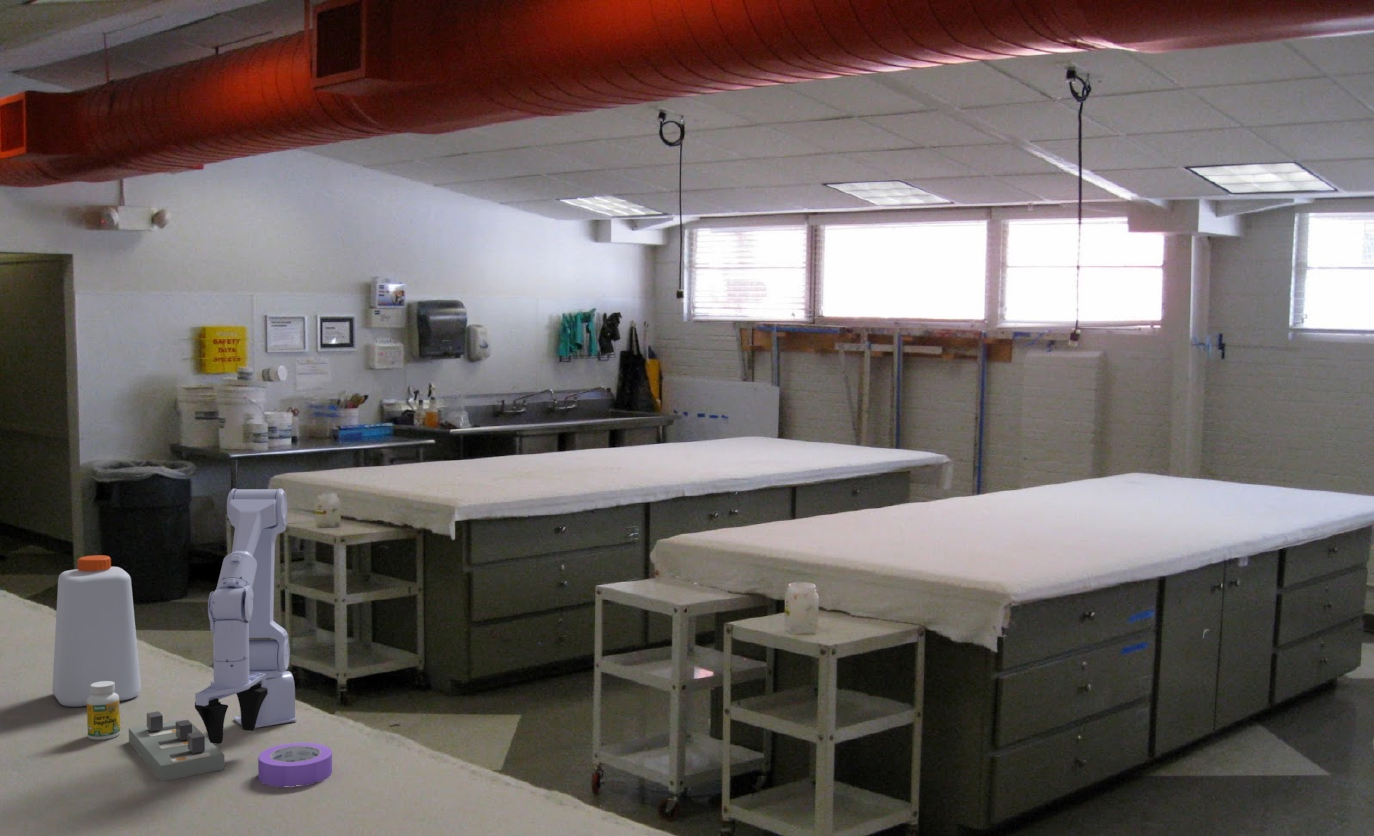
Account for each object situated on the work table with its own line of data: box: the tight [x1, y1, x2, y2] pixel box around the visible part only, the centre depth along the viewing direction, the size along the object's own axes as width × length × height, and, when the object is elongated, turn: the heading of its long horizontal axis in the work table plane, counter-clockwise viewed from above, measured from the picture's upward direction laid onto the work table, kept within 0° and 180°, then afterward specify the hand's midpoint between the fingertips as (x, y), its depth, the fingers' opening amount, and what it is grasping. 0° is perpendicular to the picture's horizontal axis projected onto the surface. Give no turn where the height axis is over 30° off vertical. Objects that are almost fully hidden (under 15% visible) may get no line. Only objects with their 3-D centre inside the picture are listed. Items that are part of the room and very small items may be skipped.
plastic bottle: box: [52, 554, 142, 708], centre depth 253 cm, size 15×15×28 cm
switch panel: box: [128, 718, 226, 782], centre depth 219 cm, size 10×24×3 cm, turn 35°
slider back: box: [146, 710, 164, 731], centre depth 224 cm, size 2×3×2 cm, turn 35°
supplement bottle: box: [86, 681, 121, 741], centre depth 229 cm, size 5×5×10 cm
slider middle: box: [176, 719, 193, 740], centre depth 220 cm, size 2×3×2 cm, turn 35°
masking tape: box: [257, 742, 333, 788], centre depth 210 cm, size 12×12×4 cm
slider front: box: [188, 731, 206, 753], centre depth 213 cm, size 2×3×2 cm, turn 35°
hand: (232, 736), depth 216 cm, fingers open, 7 cm apart
